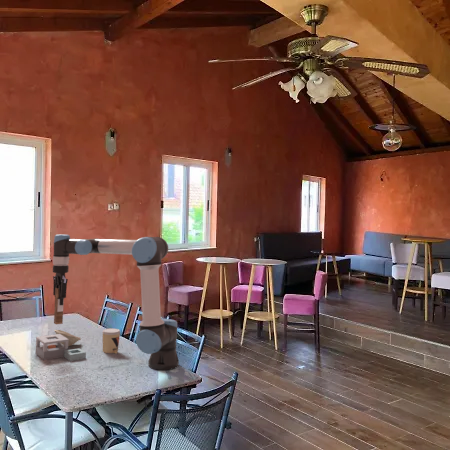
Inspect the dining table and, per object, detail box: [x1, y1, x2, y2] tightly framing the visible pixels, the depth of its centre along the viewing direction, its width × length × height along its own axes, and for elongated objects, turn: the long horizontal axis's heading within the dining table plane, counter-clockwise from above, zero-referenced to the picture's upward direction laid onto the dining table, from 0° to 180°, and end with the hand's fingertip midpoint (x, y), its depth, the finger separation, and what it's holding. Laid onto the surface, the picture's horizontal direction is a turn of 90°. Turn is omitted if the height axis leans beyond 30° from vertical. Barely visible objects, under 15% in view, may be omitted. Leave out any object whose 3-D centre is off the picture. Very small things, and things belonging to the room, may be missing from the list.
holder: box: [63, 347, 87, 362], centre depth 218 cm, size 8×8×4 cm
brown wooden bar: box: [53, 288, 64, 325], centre depth 219 cm, size 3×3×18 cm
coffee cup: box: [102, 327, 121, 355], centre depth 232 cm, size 9×9×12 cm
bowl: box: [53, 329, 81, 347], centre depth 238 cm, size 15×14×10 cm
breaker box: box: [35, 333, 69, 361], centre depth 220 cm, size 12×12×10 cm
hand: (58, 310), depth 219 cm, fingers closed on brown wooden bar, 3 cm apart
